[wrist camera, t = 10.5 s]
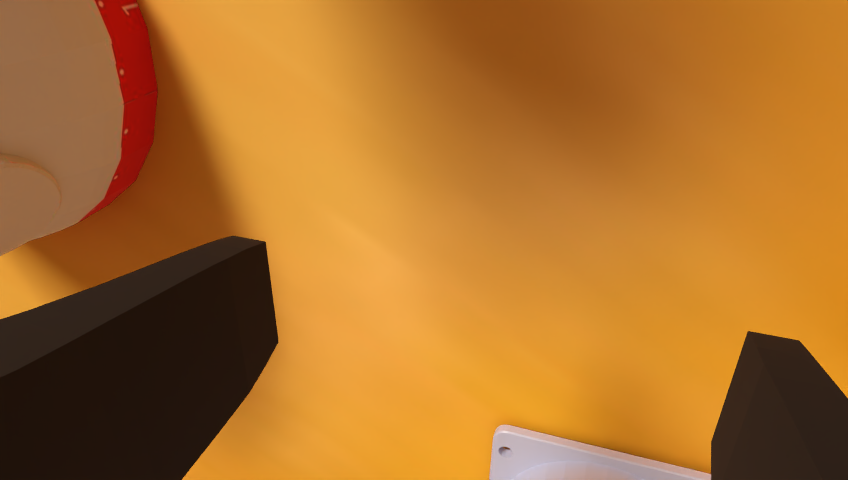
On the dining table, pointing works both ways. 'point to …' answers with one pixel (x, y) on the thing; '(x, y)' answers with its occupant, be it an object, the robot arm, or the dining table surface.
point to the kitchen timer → (70, 111)
